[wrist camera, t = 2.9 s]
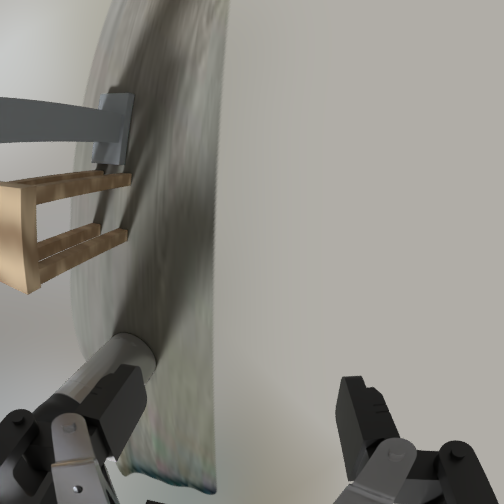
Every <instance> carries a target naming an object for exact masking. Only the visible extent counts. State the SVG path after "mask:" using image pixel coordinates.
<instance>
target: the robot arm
mask: <svg viewBox="0 0 504 504" xmlns="http://www.w3.org/2000/svg"><path fill="white" fill-rule="evenodd" d="M155 368H156V362H155V357H154V355H153V353H152V351H151V350H150V348H149V347H148V346H147V345H146V344H145V343H144V342H143V341H142V340H141V339H139V338H138V337H136V336H134V335H131V334H128V333H119V334H116V335H114V336H113V337H112V338H111V339H110V340H109V341H108V342H107V343H106V344H105V345H104V346H103V347H101V348H100V349H99V350H98V351H97V352H96V353H95V354H94V355H93V356H92V357H91V358H90V359H89V360H88V361H87V362H86V363H85V364H84V365H83V366H82V367H80V369H78V370H77V372H75V373H74V374H73V375H72V376H71V377H70V378H69V379H68V380H67V381H66V382H65V383H64V384H63V385H62V386H61V387H60V388H59V389H58V390H57V391H56V392H55V393H54V394H53V395H52V396H51V397H50V398H49V399H48V400H47V401H45V402H44V403H43V404H41V405H40V406H39V407H38V408H37V409H36V410H35V411H34V412H33V413H31V412H30V411H28V410H25V409H18V410H14V411H12V412H10V413H9V414H8V415H7V416H6V417H5V418H4V419H3V420H2V422H1V423H0V504H120V503H119V501H118V498H117V496H116V493H115V490H114V488H113V485H112V482H111V480H110V477H109V474H108V471H107V468H106V466H105V464H104V462H105V460H106V459H107V460H111V461H114V462H117V460H118V458H119V456H120V454H121V453H122V451H123V449H124V447H125V445H126V443H127V441H128V439H129V438H130V436H131V434H132V432H133V430H134V428H135V426H136V425H137V423H138V421H139V419H140V417H141V415H142V413H143V412H144V410H145V407H146V404H147V394H146V390H145V385H146V383H147V382H148V381H149V378H150V377H151V375H152V374H153V372H154V371H155ZM335 414H336V423H337V428H338V432H339V437H340V442H341V447H342V452H343V457H344V462H345V467H346V473H347V478H348V481H354V482H353V483H352V484H349V485H348V486H347V487H346V488H345V489H344V491H343V492H342V493H341V494H340V496H339V497H338V498H337V500H336V501H335V502H334V503H333V504H393V503H395V504H498V501H497V499H496V497H495V494H494V492H493V490H492V488H491V486H490V483H489V481H488V479H487V477H486V475H485V473H484V470H483V468H482V466H481V464H480V462H479V460H478V458H477V456H476V454H475V452H474V450H473V449H472V447H471V446H470V445H469V444H467V443H465V442H462V441H449V442H447V443H445V444H444V445H443V446H442V447H441V448H440V450H439V451H421V450H416V448H415V446H414V445H413V444H412V443H411V442H410V441H408V440H405V439H402V438H400V436H399V433H398V431H397V428H396V426H395V424H394V421H393V419H392V416H391V414H390V412H389V410H388V407H387V405H386V403H385V400H384V398H383V396H382V394H381V393H380V392H379V391H377V390H376V389H375V388H374V387H370V388H366V386H365V383H364V380H363V378H362V376H349V377H342V379H341V384H340V389H339V394H338V399H337V404H336V412H335ZM146 504H164V503H158V502H155V501H150V500H147V502H146Z"/></svg>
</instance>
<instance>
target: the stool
mask: <svg viewBox="0 0 504 504" xmlns="http://www.w3.org/2000/svg"><path fill="white" fill-rule="evenodd" d="M103 172H104V171H99V170H92V171H82V172H73V173H65V174H57V175H49V176H42V177H35V178H28V179H22V180H16V181H9V182H1V181H0V282H2V283H5V284H6V285H8V286H11V287H13V288H15V289H17V290H19V291H21V292H23V293H25V294H27V295H28V294H30V293H32V292H33V291H35V290H37V289H39V288H41V284H42V283H44V282H46V281H48V280H50V279H52V278H54V277H55V276H57V275H59V274H61V273H63V272H65V271H67V270H69V269H71V268H73V267H75V266H77V265H79V264H81V263H83V262H85V261H87V260H89V259H91V258H93V257H95V256H97V255H99V254H101V253H103V252H105V251H107V250H109V249H111V248H113V247H115V246H117V245H119V244H122V243H124V242H126V241H127V232H128V230H125V229H120V228H118V229H115V230H113V231H110V232H108V233H105V234H103V235H100V227H101V225H100V224H96V223H91V224H88V225H85V226H82V227H79V228H76V229H73V230H71V231H68V232H65V233H62V234H59V235H57V236H54V237H51V238H49V239H46V240H43V241H41V242H38V243H37V229H36V205H37V204H42V203H46V202H50V201H54V200H59V199H63V198H68V197H73V196H77V195H82V194H87V193H92V192H97V191H102V190H108V189H113V188H119V187H124V186H130V185H131V175H132V174H127V173H117V174H108V175H103ZM99 235H100V236H99ZM96 236H98V237H96ZM94 237H95V238H94ZM91 238H93V239H91ZM89 239H91V240H89ZM86 240H88V241H86ZM84 241H86V242H84ZM82 242H83V243H82ZM79 243H81V244H79ZM77 244H78V245H77ZM74 245H76V246H74ZM72 246H74V247H72ZM70 247H71V248H70ZM67 248H69V249H67ZM65 249H67V250H65ZM63 250H64V251H63ZM60 251H62V252H60ZM58 252H60V253H58ZM56 253H58V254H56ZM53 254H55V255H53ZM51 255H53V256H51ZM49 256H51V257H49ZM47 257H48V258H47ZM44 258H46V259H44ZM42 259H44V260H42ZM40 260H42V261H40ZM38 261H39V262H38Z"/></svg>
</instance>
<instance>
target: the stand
mask: <svg viewBox="0 0 504 504" xmlns="http://www.w3.org/2000/svg"><path fill="white" fill-rule="evenodd" d="M134 96H135V94H132V93H110V94H101V95H100V101H99V107H98V109H93V108H87V107H81V106H74V105H67V104H61V103H52V102H45V101H37V100H27V99H17V98H5V97H4V98H3V97H0V143H12V142H42V141H43V142H46V141H76V142H94V143H93V152H92V162H91V163H103V164H114V165H125V158H126V150H127V141H128V134H129V127H130V120H131V113H132V107H133V101H134Z"/></svg>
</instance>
